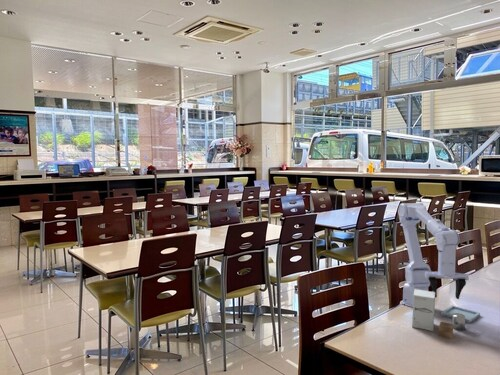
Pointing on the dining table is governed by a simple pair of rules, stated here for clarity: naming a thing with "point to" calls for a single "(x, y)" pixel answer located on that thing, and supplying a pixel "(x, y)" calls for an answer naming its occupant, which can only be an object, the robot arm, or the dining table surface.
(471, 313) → the tray
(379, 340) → the dining table surface
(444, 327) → the walnut block
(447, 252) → the robot arm
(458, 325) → the silver cylindrical canister
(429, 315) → the supplement box
